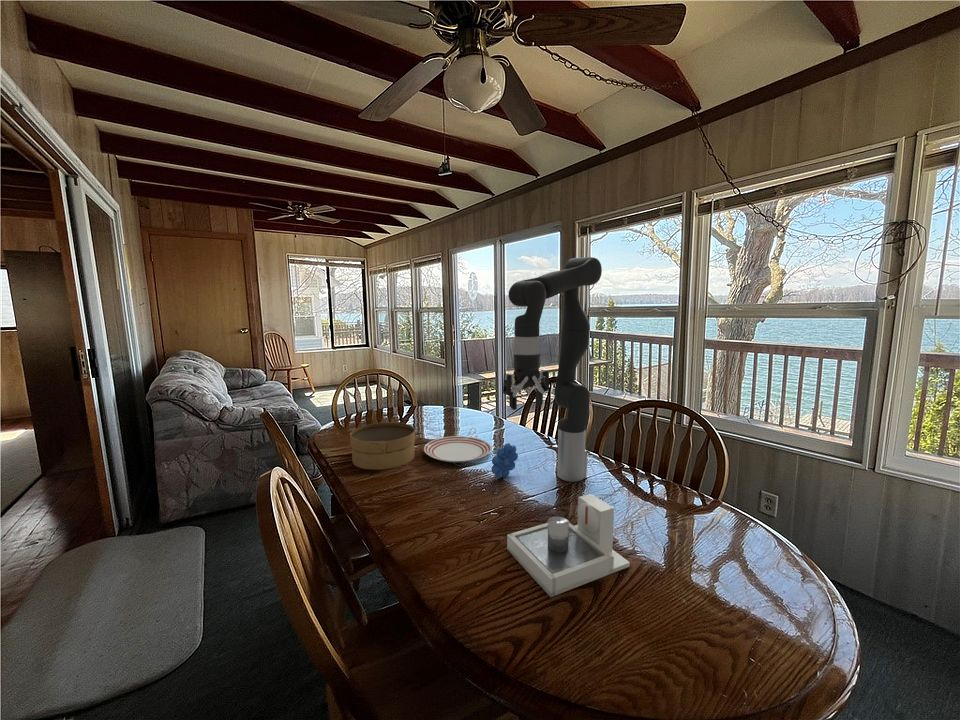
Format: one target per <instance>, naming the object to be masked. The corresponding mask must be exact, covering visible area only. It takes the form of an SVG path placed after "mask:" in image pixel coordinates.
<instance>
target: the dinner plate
mask: <svg viewBox="0 0 960 720" xmlns="http://www.w3.org/2000/svg"><path fill="white" fill-rule="evenodd" d="M492 450H493V447H492V446H491V444H490V443H489V442H488V441H486V440H485V439H484V440H483V439H481V438H477V437H473V436H463V435H462V436H461V435H458V436H457V435H456V436H452V435H451V436H445V437H440V438H436V439H432V440H431V441H429V442H427V443H426V444H425V445H424V446H423V451H424V453H425V455H428V456H429V458H433V459H435V460H438V461H442V462H447V463H455V464H456V463H467V462H472V461H476V460H479V459H482V458H485V457H486V456H488V455H490V453H491V452H492Z"/></svg>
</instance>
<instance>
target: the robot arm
mask: <svg viewBox="0 0 960 720" xmlns="http://www.w3.org/2000/svg"><path fill="white" fill-rule="evenodd" d="M602 272H603V267H602V264H601V262H600V260H599V259H598V258H596V257H593V256H585V257H573V258H570V259H568V260H567V262H566V263H565V266H564V269H560V270H555V271H549V272H547V273H545V274H542V275H539V276H537V277H533V278H527V279H523V280H518V281H516V282H514V283H513V284H512V285H511V286H510V288H509V290H508V300H509V301H510V303H511V304H512V305H514V306H516V307H524V308H526V310H525V312H524V314H521V315H518V316H516V317H515V318H514V338H513V339H514V340H513V373H507V372H506V373H504V374H503V381H502V382H503V384H502V385H503V386H502V394H503V395H506V396H508V397H509V398H508V399H509V403H508V405H509V407H510V409H511V410H513V411H515V410H517V409H518V408H517V406H518V401H517V400H518V398H517V396H518V394H519V392H520V391H522V389H526V388H533V389H534V390H535V406H536V407H542V405H543V403H544V393H545V392H549V390H550V380H549V379H550V378H549V377H550V375H549V371H548V370H545V369H542V370H540V367H541V340H540V322H541V317H542V315H543V311H544V307H545V304H546V303H545V302H546V300H547V299H548V300H549V299H550V298H553V297H555V296H557V295H559V294H561V293H563V297H564V298H563V302H564V303H563V317H562V326H561V337H560V339H561V340H560V353H559V360H558V361H559V362H558V368H557V369H558V370H557V375H556V382H555V385H554V393H553V396H554V401H555V403H556V405H557V406H559V407H561V408H564V409H566V410H567V414H566V415H567V416H566V417H562V418H561V419H559V421H558V422H557V423H558V425H557V427H558V429H557V431H558V432H557V433H558V434H557V435H558V436H557V471H556V473H557V474H556V475H557V477H558V478H559V479H561V480H563V481H565V482H572V483H574V482H581V481H583V480H584V479H585V478H587V476H588V475H587V474H588V473H587V472H588V450H586V432H587V431H586V430H587V429H586V428H587V423H588V422H589V416H590V415H589V414H590V404H591V402H590V401H591V395H590V392H589V389H588V387H587V386H585V385H583V384H580V383H575V378H576V370H577V367H578V365H579V363H580V361H581V359H582V358H583V357H584V355H585V353H587V350H588V347H589V343H590V333H591V325H590V321H589V319H588V317H587V315H586V313H585V310H584V309H583V307H582V304H581V301H580V287H584V286H585V287H587V286H593V285H596V284H597V283H598V282H599V281H600V279H601V276H602ZM539 378H540V382H539ZM513 380H514V381H513ZM512 382H513V383H512Z"/></svg>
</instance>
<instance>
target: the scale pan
mask: <svg viewBox="0 0 960 720" xmlns="http://www.w3.org/2000/svg"><path fill="white" fill-rule="evenodd" d="M517 539H518V540H519V541H520V542H521V543H522V544H523V545H524V546H525V547H526V548H527V549H528V550H529V551H530V552H531V553H532V554H533V555H534V556H535V557H536V558H537V559H538V560H539V561H540V562H541V563H542V564H543V565H544V566H545V567H546V568H547V569H548V570H549V571H550V572H551V573H552V574H554V573H557V572H560V571H562V570H565V569H568V568H571V567H573V566H576V565H579V564H582V563H585V562H587V561H590V560H593V559H596V558H598V557H601V556H602V555H601V554H600V553H599V552H597V551H596V550H595V549H593V548H592V547H591V546H590V545H588V544H587V543H586V542H584V541H583V540H582V539H581V538H579V537H578V536H577V535H576V534H574V533H573V532H572V531H570V530H569V548H568V550H567V551H564V552H555V551H552V550H551V549H549V547H548V529H544V530H541V531H538V532H534V533H531V534H527V535H524V536H521V537H517Z"/></svg>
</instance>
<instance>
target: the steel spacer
mask: <svg viewBox="0 0 960 720" xmlns="http://www.w3.org/2000/svg"><path fill="white" fill-rule="evenodd" d="M547 523H548V547H549V549H551V550H552V551H555V552H564V551H567V550H568V548H569V523H570V521H569V520H568V519H567V518H565V517H563V516H558V515H557V516H552V517H549V518H548V520H547Z"/></svg>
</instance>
